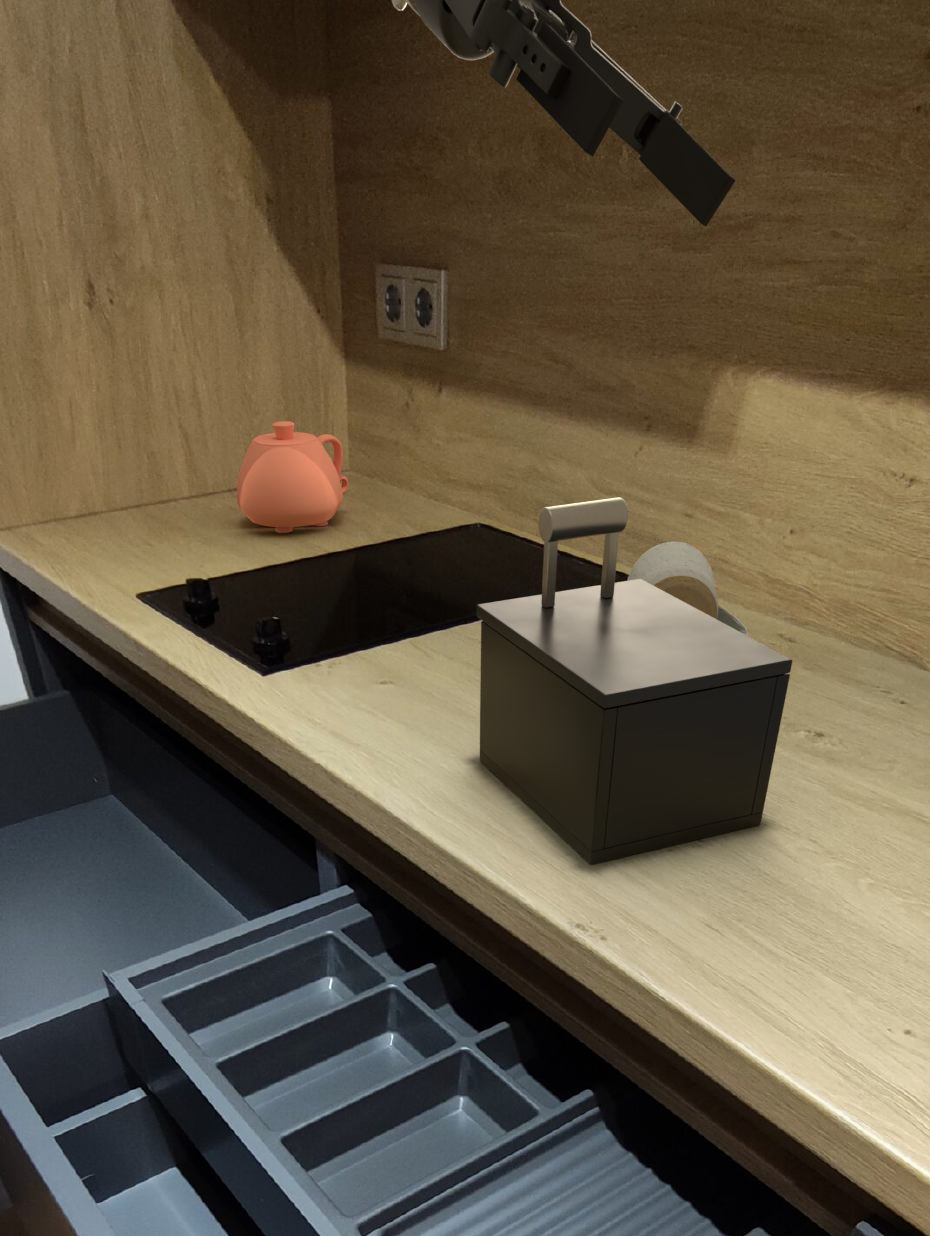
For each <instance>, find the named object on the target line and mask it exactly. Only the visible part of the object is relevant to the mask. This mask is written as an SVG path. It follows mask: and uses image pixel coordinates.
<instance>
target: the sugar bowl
mask: <svg viewBox="0 0 930 1236" xmlns="http://www.w3.org/2000/svg"><path fill="white" fill-rule="evenodd" d="M272 429H273V431H274V432H271V433H270V432H269V433H264V434H260V435H257V436H255V437H254V438H253V439H252V441H251V442H250V444H249V446H248V448H247V451H246V454H245V456H244V458H243V461H242V463H241V466H240V468H239V473H238V478H237V485H236V500H237V506H238V508H239V510H240V511H242V513H243V514H244V515H245V516H246V517H247V519H248V520H249V521H250V522H252V523H254V524H256V525H259V526H264V527H271V528H275V532H276V533H278V534H286V533H292V532H293V528H300V527H307V526H314V527H324V526H328V525H329V522H328V521H329V520H331V519H333V517H334V516H335V515H336V514H337V513H338V510H339V509H340V507H341V505H342V503H343V500H344V495H345V494H346V493H347V492H348V491H349V488H350V483H349V480H348V477H346V476H345V475H344V474H343V475H342V469H343V463H344V462H343V461H344V449H343V444H342V443H341V441H340V440H339V439H338V438H337V437H336V436H334V435H332V434H328V433H324V434H321V435H319V436H316V435H315V434H312V433H308V432H301V431H294V430H295V422H293V421H289V420H282V421H276V422H273V423H272ZM326 443H331V444H332V448H333V460H332V458H331V457H330V455H329V453H328V452H327V450H326V448H325V447H324V446H323V444H326Z"/></svg>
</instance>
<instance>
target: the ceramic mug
mask: <svg viewBox="0 0 930 1236" xmlns="http://www.w3.org/2000/svg"><path fill="white" fill-rule="evenodd" d="M636 579H642V580H644V581H646V582H647V583H649V584H651V585H653V586H655V587H657V588H659V589H661V590H662V591H664V592H666V593H668V594H670V595H672V596H674V597H675V598H677V599H679V600H681V601H683V602H685V603H687V604H689V605H690V606H692V607H694V608H696V609H698V610H700V611H702V612H704V613H705V614H707V615H709V616H711V617H713V618H715V619H717V620H719V621H720V622H722V623H724V624H726V625H728V626H730V627H732V628H733V629H735V630H737V631H739V632H741V633H743V634H745V635H747V636H748V637H750V633H749V630H748V629H747V627H746V625H745V624H743V622H742V621H741V620H739V618H737V617H736V616H735V615H734V614H733V613H731V612H730V611H728V610H727V609H726V608H724V607H723V606H721V605H719V600H718V599H719V597H718V594H717V591H716V584H715V577H714V573H713V569H712V567H711V565H710V562H709V561H708V559H707V558H706V556H705V555H704V554H703V552H701V551H700V550H699V549H698V548H696V547H694V546H692V545H691V544H688V543H686V542H683V541H668V542H667V541H666V542H662V543H659V544H656V545H654V546H653V547H650V548H649V549H647V550H646V551H645V552H644V553H642V554H641V556H640V557H639V558H638V559H637V560H636V561H635V563H634V564H633V566H632V568H631V569H630V571H629V574H628V576H627V580H626V581H629V580H636Z"/></svg>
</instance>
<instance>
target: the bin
mask: <svg viewBox="0 0 930 1236" xmlns="http://www.w3.org/2000/svg"><path fill="white" fill-rule="evenodd" d="M480 624H481V625H480V687H479V689H480V690H479V691H480V692H479V693H480V694H479V695H480V696H479V704H480V705H479V709H480V710H479V762H480V763H481V764H482V765H483V766H484V767H485V768H486V769H487V770H488V771H490V772H491V773H492V774H493V775H494V776H495V777H496V778H497V779H498V780H499V781H500V782H501V783H503V784H504V786H505V787H507V788H508V790H510V791H511V792H512V793H513V794H514V796H516V797H517V798H518V799H520V800H521V801H522V803H524V804H525V805H526V806H527V807H528V808H529V809H530V810H531V811H532V812H533V813H535V814H536V815H537V816H538V817H539V818H540V819H541V820H542V821H543V822H544V823H545V824H546V825H547V826H548V827H550V828H551V829H552V830H553V831H554V832H555V833H556V835H558V836H559V837H560V838H561V839H562V840H563V841H564V842H566V843H567V844H568V845H569V847H571V848H572V850H574V851H575V852H576V853H577V854H578V855H579V856H581V858H582V859H583V860H584V861H585V862H586V863H588V864H589V865H590V866H592V865H595V864H600V863H604V862H609V861H612V860H617V859H622V858H626V857H630V856H634V855H639V854H642V853H646V852H650V851H651V852H652V851H655V850H659V849H663V848H668V847H671V846H676V845H680V844H684V843H688V842H693V841H697V840H702V839H706V838H709V837H714V836H718V835H722V834H726V833H731V832H734V831H739V830H743V829H747V828H752V827H756V826H760V825H761V824H762V819H763V815H764V814H763V813H764V809H765V804H766V798H767V793H768V789H769V783H770V779H771V773H772V768H773V763H774V758H775V753H776V748H777V744H778V738H779V734H780V733H779V732H780V728H781V722H782V717H783V713H784V707H785V703H786V699H787V692H788V687H789V682H790V677H791V674H790V673H786V674H781V675H775V676H770V677H765V678H760V679H755V680H750V681H744V682H739V683H734V684H729V685H724V686H719V687H714V688H708V689H703V690H698V691H693V692H688V693H683V694H678V695H672V696H667V697H662V698H657V699H652V700H647V701H642V702H636V703H631V704H626V705H621V706H616V707H611V708H603V707H601V706H600V705H599V704H597V703H596V702H594V701H593V700H592V699H590V698H589V697H587V696H586V695H585V694H583V693H582V692H581V691H579V690H578V689H576V688H575V687H574V686H572V685H571V684H569V683H568V682H567V681H565V680H564V679H563V678H561V677H560V676H558V675H557V674H556V673H554V672H553V671H551V670H550V669H549V668H547V667H546V666H545V665H543V664H542V663H540V662H539V661H538V660H536V659H535V658H533V657H532V656H531V655H529V654H528V653H527V652H525V651H524V650H522V649H521V648H520V647H518V646H517V645H516V644H514V643H513V642H511V641H510V640H509V639H507V638H506V637H504V636H503V635H502V634H500V633H499V632H498V631H496V630H495V629H493V628H492V627H491V626H489V625H488V624H486V623H485V622H484V621H482V620H481V622H480Z"/></svg>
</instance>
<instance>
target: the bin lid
mask: <svg viewBox="0 0 930 1236" xmlns="http://www.w3.org/2000/svg"><path fill="white" fill-rule="evenodd" d="M628 511H629V510H628V506H627V503H626V501H625V499H624V498H623V497H619V496H618V497H612V498H611V497H610V498H604V499H596V500H590V501H582V502H575V503H566V504H561V505H560V504H559V505H552V506H544V507H543V508H541V509H540V511H539V514H538V521H537V523H538V524H537V525H538V526H537V527H538V534H539V536H540V538H541V540H542V542H543V561H542V584H541V594H536V595H535V594H534V595H530V596H523V597H517V598H511V599H504V600H499V601H498V600H497V601H492V602H485V603H478V604H476V617H477V618H478V619H480V620H481V621H484V622H485V623H486V624H488V625H489V626H491V627H492V628H493V629H495V630H496V631H498V632H499V633H500V634H502V635H503V636H504V637H506V638H507V639H509V640H510V641H511V642H513V643H514V644H516V645H517V646H518V647H520V648H521V649H522V650H524V651H525V652H527V653H528V654H529V655H531V656H532V657H533V658H535V659H536V660H538V661H539V662H540V663H542V664H543V665H545V666H546V667H547V668H549V669H550V670H551V671H553V672H554V673H556V674H557V675H558V676H560V677H561V678H563V679H564V680H565V681H567V682H568V683H569V684H571V685H572V686H574V687H575V688H576V689H578V690H579V691H581V692H582V693H583V694H585V695H586V696H587V697H589V698H590V699H592V700H593V701H594V702H596V703H597V704H599V705H600V706H601V707H603V708H611V707H616V706H621V705H626V704H631V703H636V702H642V701H647V700H652V699H657V698H662V697H667V696H672V695H678V694H683V693H688V692H693V691H698V690H703V689H708V688H714V687H719V686H724V685H729V684H734V683H739V682H744V681H750V680H755V679H760V678H765V677H770V676H775V675H781V674H786V673H789V674H790V673H791V672H792V671H791V670H792V665H793V659H791V658H790V657H788V656H786V655H784V654H782V653H780V652H778V651H776V650H775V649H773V648H771V647H769V646H767V645H765V644H763V643H762V642H760V641H757V640H756V639H754V638H752V637H750V636H749V637H748V636H747V635H745V634H743V633H741V632H739V631H737V630H735V629H733V628H732V627H730V626H728V625H726V624H724V623H722V622H720V621H719V620H717V619H715V618H713V617H711V616H709V615H707V614H705V613H704V612H702V611H700V610H698V609H696V608H694V607H692V606H690V605H689V604H687V603H685V602H683V601H681V600H679V599H677V598H675V597H674V596H672V595H670V594H668V593H666V592H664V591H662V590H661V589H659V588H657V587H655V586H653V585H651V584H649V583H647V582H646V581H644V580H642V579H636V580H629V581H627V580H624V581H623V580H622V581H617V582H616V572H617V562H618V549H619V539H620V533H621V532H623V531H624V530H625V529H626V527H627V524H628V519H629V512H628ZM603 535H604V541H603V542H604V543H603V554H602V555H603V556H602V567H601V579H600V580H601V581H600V584H599V585H592V586H586V587H579V588H573V589H567V590H561V591H556V587H557V586H556V585H557V566H558V546H559V542H561V541H568V540H575V539H580V538H581V539H582V538H589V537H595V536H603Z"/></svg>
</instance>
